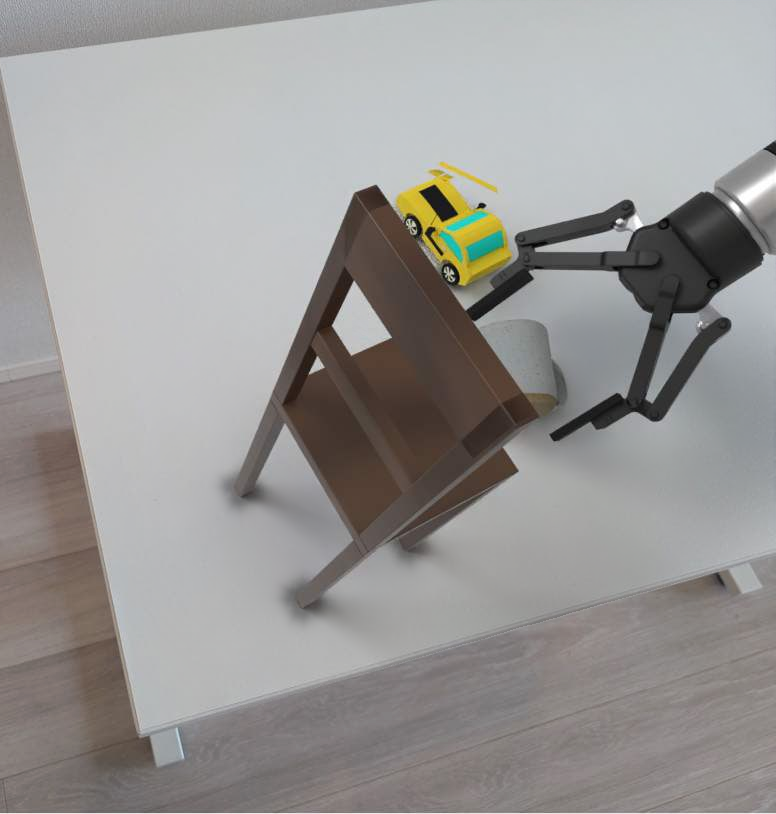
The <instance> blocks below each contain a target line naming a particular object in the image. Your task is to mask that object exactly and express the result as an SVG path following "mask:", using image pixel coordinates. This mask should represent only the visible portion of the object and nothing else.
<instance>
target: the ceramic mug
mask: <svg viewBox="0 0 776 814" xmlns="http://www.w3.org/2000/svg"><path fill="white" fill-rule="evenodd" d="M478 329H479V331H480V332H481V334H482V335H483V336H484V338H485V339H486V341H487V342H488V344H489V345H490V346H491V348H492V349H493V351H494V352H495V353H496V355H497V356H498V358H499V359H500V361H501V362H502V363H503V365H504V366H505V368H506V369H507V371H508V372H509V373H510V375H511V376H512V378H513V379H514V380H515V382H516V383H517V385H518V386H519V388H520V389H521V390H522V392H523V393H524V394H525V396H526V397H527V399H528V400H529V401H530V403H531V404H532V406H533V407H534V409H535V410H536V411H537V413H538V414H539V418H538V419H537V420H540V419H542V418H545V417H546V416H548V415H549V414H551V413H553V412H555V411H559V410H560V409H563V408H564V407H565V405H566V404H567V401H568V397H569V391H568V384H567V379H566V377H565V375H564V373H563V371H562V368H561V367H560V366H559V364H558V363H557V362H556V361H555V360H554V359H553V358H552V351H551V345H550V339H549V333H548V329H547V327H546V326H545V325H544V324H543V323H542V322H539V321H537V320H533V319H526V318H525V319H524V318H515V319H505V320H499V321H494V322H491V323H488V324H486V325H483V326H481V327H478Z"/></svg>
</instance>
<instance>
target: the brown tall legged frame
mask: <svg viewBox="0 0 776 814" xmlns="http://www.w3.org/2000/svg"><path fill="white" fill-rule="evenodd" d="M354 283H355V284H356V286H357V287H358V289H359V290H360V292H361V293H362V295H363V297H364V298H365V299H366V301H367V302H368V304H369V305H370V307H371V309H372V310H373V311H374V313H375V314H376V316H377V318H378V319H379V320H380V322H381V324H382V325H383V326H384V327H385V329H386V331H387V333H388V334H389V335H390V338H388V339H386V340H383V341H380V342H379V343H376V344H375V345H372V346H370V347H368V348H365V349H363V350H361V351H358V352H357V353H354V354H352V355H351V353H350V351H349V350H348V348H347V347H346V345H345V344H344V342H343V340H342V339H341V338H340V336H339V334H338V333H337V331H336V329H335V328H334V326H333V325H334V323H335V321H336V319H337V318H338V314H339V312H340V310H341V309H342V306H343V304H344V303H345V300H346V298H347V296H348V294H349V292H350V290H351V288H352V287H353V286H352V285H353V284H354ZM465 310H466V309H465V308H464V306H463V305H462V303H461V302H460V301H459V300H458V298H457V297H456V295H455V294H454V292H453V291H452V290H451V288H450V287H449V284H448V283H447V282H446V281H445V280H444V278H443V276H442V274H440V272H439V271H438V270H437V268H436V267H435V265H434V264H433V263H432V261H431V260H430V258H429V257H428V255H427V254H426V253H425V251H424V250H423V249H422V247H421V245H420V244H419V243H418V241H417V240H416V238H414V237H413V236H412V234H411V233H410V231H409V230H408V229H407V227H406V226H405V224H404V221H403V220H402V219H401V217H400V216H399V214H398V213H397V211H396V210H395V209H394V207H393V206H392V204H391V203H390V201H389V199H388V198H387V197H386V196H385V194H384V193H383V191H382V190H381V188H380V187H379V186H378V184H373V185H371V186H368V187H365V188H363V189H360V190H357V191H355V192H353V195H352V197H351V199H350V202H349V204H348V206H347V209H346V212H345V214H344V216H343V219H342V221H341V224H340V225H339V229H338V231H337V233H336V236H335V238H334V241H333V243H332V245H331V248H330V251H329V253H328V255H327V258H326V260H325V262H324V265H323V267H322V270H321V273H320V275H319V278H318V280H317V282H316V285H315V287H314V290H313V292H312V295H311V297H310V300H309V302H308V304H307V306H306V309H305V312H304V314H303V317H302V319H301V322H300V324H299V326H298V329H297V332H296V334H295V336H294V339H293V341H292V344H291V345H290V349H289V351H288V353H287V355H286V358H285V361H284V362H283V366H282V368H281V370H280V372H279V375H278V378H277V380H276V382H275V386H274V388H273V389H272V391H271V395H270V398H269V399H268V403H267V405H266V407H265V409H264V413H263V415H262V417H261V419H260V421H259V424H258V427H257V429H256V432H255V434H254V437H253V439H252V442H251V444H250V446H249V449H248V451H247V453H246V456H245V459H244V461H243V463H242V466H241V469H240V471H239V473H238V476H237V478H236V481H235V483H234V488H235V490H236V492H237V494H238V495H239V497H244V496H245V495H246V496H247V495H248V494H250V493H252V492H253V490H254V488H255V485H256V483H257V482H258V480H259V477H260V475H261V473H262V471H263V469H264V467H265V466H266V463H267V461H268V459H269V457H270V455H271V453H272V451H273V449H274V446H275V444H276V442H277V440H278V438H279V437H280V434H281V432H282V430H283V428H284V426H286V428H287V429H288V431H289V432H290V435H291V436H292V438H293V439H294V441H295V443H296V445H297V446H298V448H299V449H300V451H301V452H302V455H303V456H304V458H305V460H306V462H307V463H308V465H309V467H310V469H311V470H312V472H313V474H314V475H315V477H316V479H317V480H318V482H319V484H320V486H321V487H322V489H323V490H324V493H325V494H326V496H327V498H328V500H329V501H330V503H331V504H332V506H333V507H334V509H335V511H336V513H337V514H338V516H339V518H340V519H341V522H342V523H343V524H344V526H345V528H346V529H347V531H348V534H349V535H350V536H351V538H352V541H351V542H350V543H349V544H348V545H347V546H346V547H344V548H343V549H342V550H341V551H340V552H339V553H337V555H336V556H335V557H334V558H333V559H331V561H330V562H329V563H327V565H325V566H324V567H323V568H322V569H321V570H320V571H319V572H318V573H317V574H316V575H315V576H314V577H313V578H312V579H310V580H309V581H308V583H307V584H305V586H302V588H301V589H300V590H299V591H298V592H297V593H296V594H295V595H294V598H295V599H296V601H297V603H298V605H299V607H300V609H305V607H307V606H309V605H311V604H312V603H315V602H316V601H317V600H318V599H319V598H321V596H322V595H324V594H325V593H326V592H328V591H329V590H330V589H331V588H332V587H335V585H336V584H338V583H339V582H340V581H341V580H342V579H344V578H345V577H346V576H347V575H349V574H350V573H351V572H352V571H353V570H354V569H356V568H357V567H358V566H360V565H361V564H362V563H363V562H364V561H365V560H367V559H368V558H369V557H371V556H372V555H373V554H374V553H376V551H378V550H379V549H381V548H383V547H385V546H386V545H388V544H390V543H392V542H394V541H396V540H398V541H399V542H400V544H401V546H402V547H403V549H404V551H405V552H408V551H410V550H411V549H413V548H415V547H417V546H418V545H419V544H421V543H422V542H424V541H425V540H426V539H428V538H429V537H430V536H432V535H433V534H435V533H436V532H437V531H439V530H440V529H442V528H443V527H445V526H446V525H448V523H450V522H451V521H453V520H455V519H456V518H457V517H459V516H460V515H461V514H463V512H465V511H466V510H468V509H470V508H471V507H472V506H474V505H475V504H476V503H478V502H479V501H481V500H482V499H483V498H484V497H486V496H487V495H489V494H490V493H491V492H493V491H495V490H496V489H498V487H500V486H501V485H503V484H504V483H505V482H507V481H508V480H510V479H511V478H512V477H514V476H515V475H516V474H518V473H519V472H520V471H519V469H518V467H517V465H516V464H515V463H514V462H513V460H512V458H511V457H510V455H509V454H508V452H507V451H506V450H505V448H504V447H505V446H506V445H507V444H509V442H511V441H512V440H514V439H515V438H516V437H517V436H518V435H520V434H521V433H522V432H523V431H524V430H526V429H527V428H528V427H530V425H532V424H534V422H535V421H537V420H539V419H540V418H539V414H538V413H537V411H536V410H535V409H534V407H533V406H532V404H531V403H530V401H529V400H528V399H527V397H526V396H525V394H524V393H523V392H522V390H521V389H520V388H519V386H518V385H517V383H516V382H515V380H514V379H513V378H512V376H511V375H510V373H509V372H508V371H507V369H506V368H505V366H504V365H503V363H502V362H501V361H500V359H499V358H498V356H497V355H496V353H495V352H494V351H493V349H492V348H491V346H490V345H489V344H488V342H487V341H486V339H485V338H484V336H483V335H482V334H481V332H480V331H479V327H478V326H477V325H476V323H475V321H472V319H471V318H470V317H469V315H468V314H467V312H466V311H465ZM317 358H318V359H319V361H320V362H321V364H322V366H323V367H322V368H320V369H318V370H315V371H314V372H312V373H311V371H312V368H313V366H314V364H315V363H316V360H317ZM538 418H539V419H538Z"/></svg>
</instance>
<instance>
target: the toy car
mask: <svg viewBox="0 0 776 814" xmlns="http://www.w3.org/2000/svg"><path fill="white" fill-rule="evenodd" d="M437 165H438V166H440V167H442V168H445V169H447V170H448V171H450V172H452V173H455V174H457V175H460V176H462V177H464V178H465V179H467V180H470V181H472V182H474V183H476V184H477V185H480V186H482V187H484V188H486V189H488V190H490V191H492V192H494V193H496V194H499V191H498V187H497V186H494V185H492V184H490V183H488V182H486V181H484V180H483V179H480V178H478V177H476V176H474V175H472V174H470V173H467V172H465V171H464V170H461V169H459V168H456V167H455V166H453V165H451V164H448V163H446V162H444V161H441V162H438V163H437ZM426 172H427V173H429V174H430V175H432V176H434V177H435V178H432V179H430V180H427V181H425V182H423V183H421V184H419V185H416V186H414V187H412V188H409V189H407V190H405V191H402V192H401V193H398V195H397V197H396V199H395V203H396V207H397V208H398V209H399V211H400V212H401V213H402V215H403V216H404V217H405V218H404V221H403V223H404V224H405V226H406V227H407V229H408V230H409V231H410V233H411V234H412V236H413V237H414V238H415V239H416V238H419V237H420V236H421V235H422V236H421V239H422V240H423V242H424V243H425V244H426V245H427V247H428V248H429V250H430V251H431V252H432V253H433V254H434V256H435V257H436V258H437V259H438V261H439V262H440V263H441V264H442V263H444V262H445V263H444V264H442V265H441V271H440V272H441V277H442V278H443V280H444V281H445V283H446V284H447V285H448V286H449V285H450V286H456V285H460V286H467V285H468V284H471V283H473V282H474V281H477V280H478V279H481V278H482V277H485V276H486V275H488V274H491V273H492V272H494V271H496V270H498V269H500V268H502V267H504V266H506V265H507V264H508V262H509V261H510V260H511V259H512V258H513V255H512V252H511V250H510V247H509V240H508V235H507V232H506V230H505V227H504V225H503V222H502V220H501V219H499V217H498V216H497V215H494V213H492V212H491V211H488V210H486V209H485V208H486V207H487V204H486V203H484V202H479V203H478V204H477V206H476V207H475V208H474V209H472V208H470V206H469V204H468V203H467V201H466V200H465V199H464V197H463V196H462V195H461V194H460V192H459V191H458V189H456V187H455V186H454V185H453V183H451V182H450V180H452V179H454V178H455V176H453V175H450V174H447V173H446V172H445V171H443V170H440V169H430V170H428V171H426ZM447 261H448V262H447Z"/></svg>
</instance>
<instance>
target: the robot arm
mask: <svg viewBox="0 0 776 814" xmlns="http://www.w3.org/2000/svg"><path fill="white" fill-rule="evenodd" d="M713 190H714V191H713V192H710V191H707V190H706V191H700V192H698V193H697V194H696V195H694V196H692V197H691V198H690V199H689V200H687V201H685V202H683V204H681V205H680V206H678V207H677V208H675V209H674V210H672V211H671V212H670V213H668V214H667V215H666V216H664V217H663V218H661V219H660V220H658V221H657V222H655V223H652V224H647V225H645V224H644V222H643V220H642V219H641V217H640V215H639V214H638V212H637V209H636V205H635V204H634V202H633V201H632V200H631V199H623V200H621V201H620V202H618V203H616V204H615V205H613V206H611V207H609V208H608V209H606V210H604V211H602V212H598V213H594V214H589V215H585V216H581V217H578V218H573V219H569V220H564V221H560V222H557V223H551V224H547V225H544V226H539V227H535V228H531V229H527V230H523V231H520V232H517V233H516V234H515V236H514V243H515V244H516V248H517V252H518V254H517V255H518V256H517V257H516V259H515V260H514V261H513V262H512V263H510V264H509V265H507V266H506V267H505V268H503V269H502V270H501V271H499V272H498V273H497V274H495V275H494V276H493V277H492V278H491V280H490V281H489V284H490V286H491V287H492V288H493V290H491V291H490V292H489V293H487V294H486V295H485V296H483V297H482V298H480V299H479V300H478V301H476V302H475V303H473V304H472V305H471V306H469V307H468V308H467V309H465V311H466V312H467V314H468V315H469V317H470V318H471V319H472V321H473V322H478V320H479V319H481V318H483V317H484V316H485V315H487V314H488V313H489V312H491V311H492V310H493V309H495V308H496V307H498V306H499V305H501V304H503V302H504V301H506V300H507V299H509V298H510V297H512V296H513V295H515V294H516V293H518V292H519V291H520V290H521V289H523V288H524V287H525V286H527V285H529V284H530V283H531V282H533V280H535V278H534V276H533V275H532V274H531V272H530V271H535V270H538V271H548V270H549V271H597V272H599V271H600V272H602V271H603V272H608V273H609V272H610V273H617V277H618V280H619V282H620V283H621V284H622V286H623V287H624V288H625V290H627V292H630V293H631V294H632V296H633V298H634V301H635V302H636V303H637V305H638V306H639V307H640V308H641V310H642V311H644V312H646V313H648V314H651V318H650V320H649V324H648V329H647V332H646V336H645V338H644V341H643V345H642V348H641V351H640V354H639V357H638V359H637V360H638V361H637V363H636V367H635V370H634V373H633V375H632V376H633V377H632V379H631V382H630V385H629V387H628V389H629V390H628V392H627V394H626V397H624V396H623V395H622V394H621V393H619V392H615V393H614V394H612V395H611V396H609V397H607V398H606V399H604V400H602V401H601V402H599V403H598V404H595V405H594V406H592V407H591V408H589V409H588V410H586V411H584V412H583V413H581V414H580V415H578V416H577V417H575V418H573V419H572V420H570V421H569V422H566V423H565V424H564V425H562V426H560V427H558V428H557V429H556V430H554V431H552V432H551V433H549V434H548V436H549V437H550V438H551V440H552V441H553V442H554V443H555V442H560V441H562V440H563V439H565V438H567V437H569V436H570V435H572V434H574V433H575V432H576V431H579V430H580V429H582V428H584V427H585V426H586V425H588V424H589V423H591V425H592V426H593V427H594V429H595V430H596V431H599V430H605V429H606V428H608V427H611V426H612V425H614V424H615V423H617V422H618V421H620V420H621V419H623V418H625V417H627V416H629V415H630V414H632V413H637V414H640V416H643V418H646V420H649V421H650V422H652V423H655V422H656V423H658V422H661V421H663V420H664V418H665V417H666V416H667V413H669V411H670V409H671V408H672V406H673V405H674V403H675V401H677V398H678V397H679V395H680V394H681V392H682V391H683V389H684V388H685V386H686V385H687V384H688V381H689V380H690V378H691V377H692V375H693V374H694V372H695V371H696V370H697V368H698V366H699V365H700V363H701V362H702V360H703V359H704V357H705V356H706V354H707V353H708V351H709V349H710V348H711V347H712V346H713V345H714V344H716V343H717V342H718V341H720V340H722V338H723V337H725V336H726V335H728V334H729V333H730V332H731V330H732V326H733V325H732V320H731V319H730V318H728V317H725V316H723V315H721V313H719V312H718V310H716V309H715V308H714V306H712V305H711V304H710V302H711V301H712V299H713V298H714V297H715V296H716V295H717V294H719V293H720V292H722V291H723V290H724V289H726V288H729V286H731V285H733V284H734V283H735V282H737V281H739V280H740V279H741V278H744V277H745V276H746V275H748V274H749V273H752V272H753V271H754V270H756V269H757V268H759V267H761V266H762V265H763V262H764V259H765V258H764V256H765V255H766V254H768V255H770V256H776V139H775V140H773V141H772V142H771V143H769V144H768V145H767V146H765V147H763V148H762V149H760V150H758V151H757V152H755V153H754V154H753V155H751V156H750V157H748V158H747V159H746V160H744V161H743V162H741V163H739V164H738V165H737V166H735V167H734V168H732V169H731V170H730V171H728V172H727V173H725V174H723V175H722V176H720V177H719V178H718V179H716V180H715V182H714V184H713ZM612 230H614V231H616V232H618V233H623V232H631V233H632V234H631V236H630V238H629V242H628V243H627V246H626V250H620V251H619V250H605V251H536V249H537V248H543V247H547V246H551V245H555V244H556V245H557V244H559V243H560V244H561V243H564V242H568V241H573V240H579V239H583V238H586V237H589V236H590V237H591V236H595V235H598V234H603V233H607V232H610V231H612ZM696 313H697V314H699V316H700V317H699V320H698V321H697V322H696V324H695V330H696V332H697V335H696V336H695V337H694V339H693V340H692V341H691V343H690V344H689V346H688V347H687V349H686V350H685V352H684V353H683V355H682V356H681V358H680V359H679V361H678V363H676V366H675V368H674V369H673V370H672V372H671V374H670V375H669V377H668V378H667V380H666V381H665V383H664V384H663V386H662V388H661V389H660V391H659V392H658V394H657V395H656V397H655V399H654V400H653V402H651V401H649V400H647V399H646V398H647V396H648V392H649V389H650V386H651V383H652V380H653V377H654V374H655V370H656V368H657V365H658V361H659V357H660V355H661V352H662V349H663V345H664V343H665V340H666V337H667V333H668V331H669V329H670V325H671V323H672V320H673V317H674V314H696Z"/></svg>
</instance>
